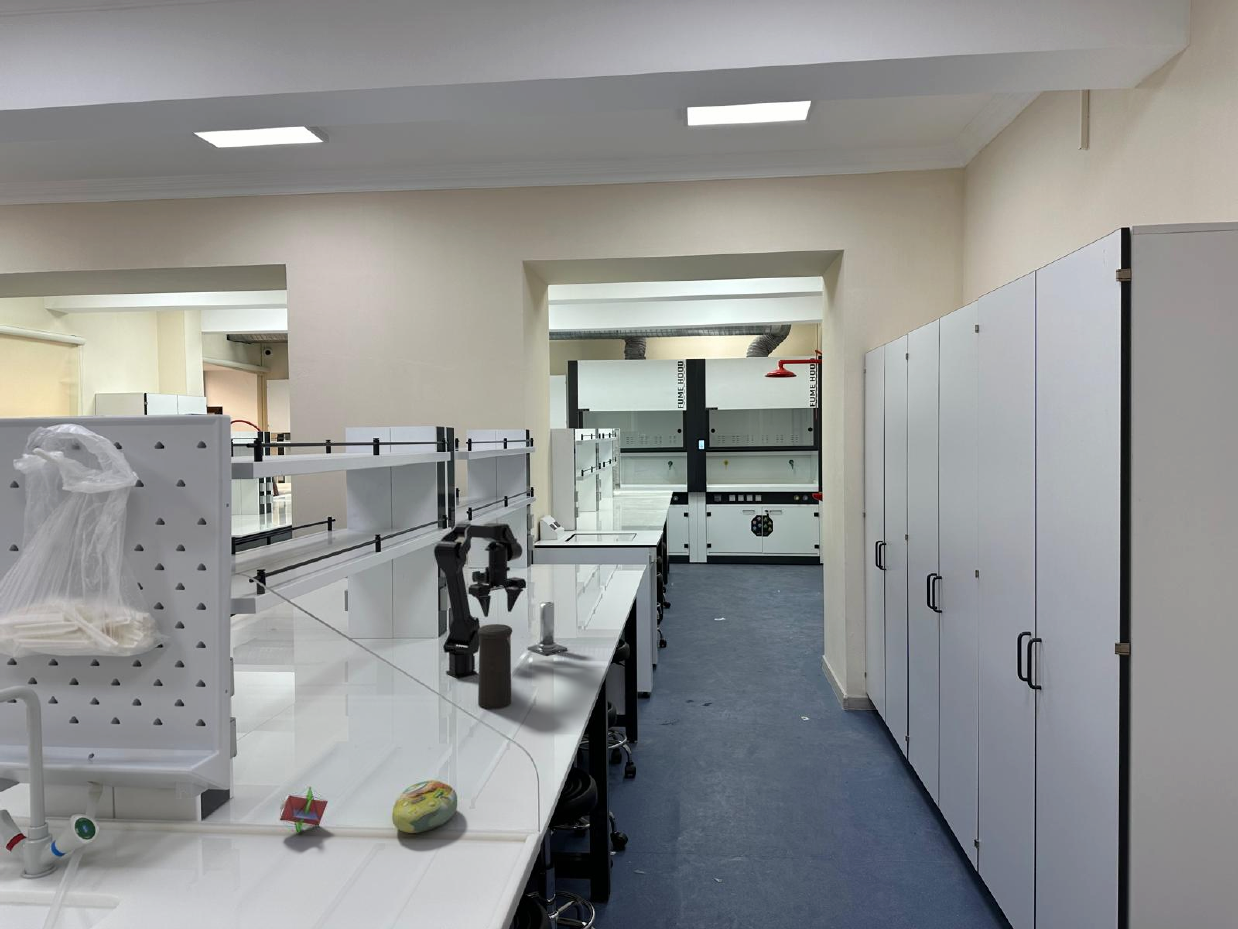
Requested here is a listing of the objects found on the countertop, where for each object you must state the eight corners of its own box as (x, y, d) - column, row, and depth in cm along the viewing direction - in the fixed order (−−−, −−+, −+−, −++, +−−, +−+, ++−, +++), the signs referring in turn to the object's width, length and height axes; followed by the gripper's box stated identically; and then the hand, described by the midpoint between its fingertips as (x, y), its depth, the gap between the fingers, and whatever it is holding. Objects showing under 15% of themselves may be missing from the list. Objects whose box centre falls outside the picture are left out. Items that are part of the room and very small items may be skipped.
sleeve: (551, 650, 243) (551, 605, 243) (535, 648, 245) (535, 604, 245) (558, 646, 249) (558, 602, 248) (542, 644, 251) (543, 600, 250)
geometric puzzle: (333, 801, 140) (304, 772, 137) (339, 818, 134) (309, 787, 131) (299, 832, 137) (269, 803, 135) (303, 851, 131) (272, 820, 129)
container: (519, 701, 199) (519, 624, 198) (496, 712, 191) (496, 632, 191) (493, 695, 204) (493, 620, 203) (469, 705, 196) (469, 627, 195)
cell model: (377, 827, 130) (401, 760, 144) (392, 860, 133) (415, 791, 147) (438, 818, 129) (457, 751, 143) (452, 850, 132) (469, 782, 146)
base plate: (544, 655, 241) (544, 652, 241) (527, 649, 247) (527, 646, 247) (567, 650, 247) (567, 647, 247) (549, 644, 253) (549, 641, 253)
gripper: (504, 557, 251) (504, 605, 252) (457, 564, 237) (457, 615, 238) (527, 561, 244) (527, 610, 244) (480, 569, 230) (480, 621, 231)
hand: (497, 614), depth 240 cm, fingers open, 9 cm apart
